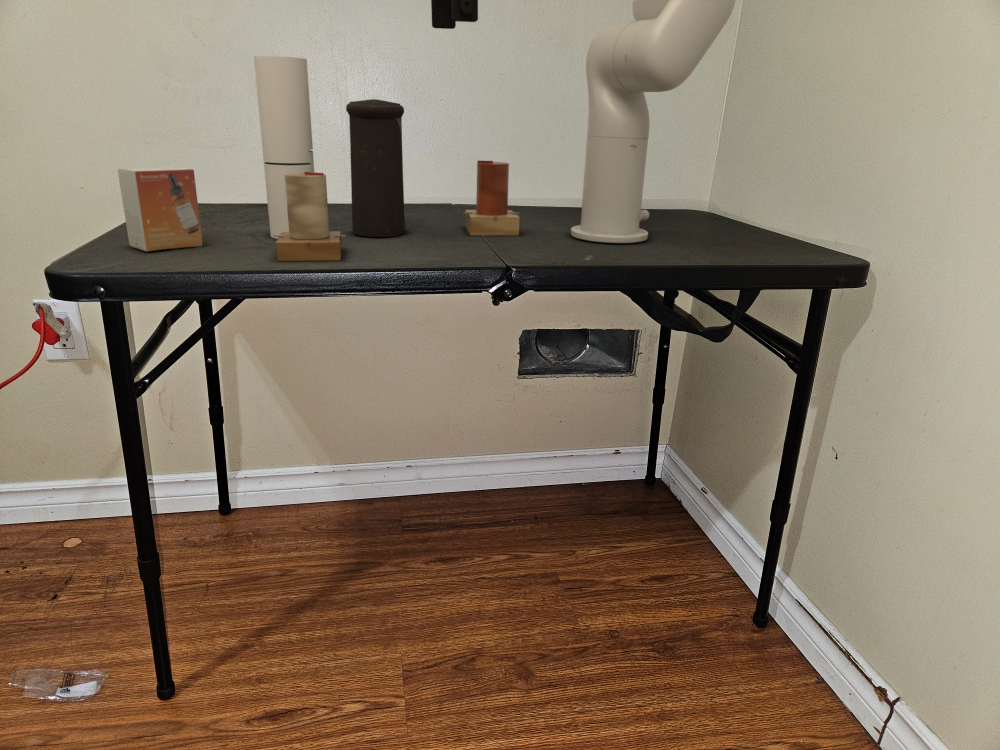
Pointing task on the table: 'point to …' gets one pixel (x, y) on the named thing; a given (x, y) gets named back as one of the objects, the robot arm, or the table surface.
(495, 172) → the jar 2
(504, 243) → the table surface
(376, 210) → the container
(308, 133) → the cylindrical container
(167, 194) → the small box
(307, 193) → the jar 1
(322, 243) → the base
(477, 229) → the base
